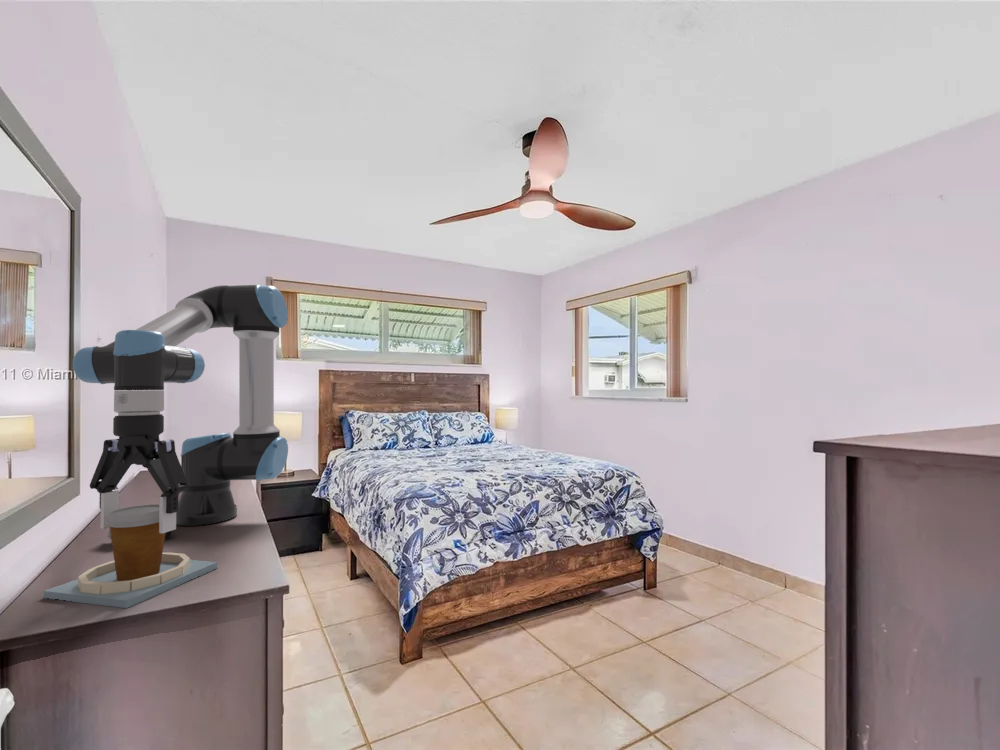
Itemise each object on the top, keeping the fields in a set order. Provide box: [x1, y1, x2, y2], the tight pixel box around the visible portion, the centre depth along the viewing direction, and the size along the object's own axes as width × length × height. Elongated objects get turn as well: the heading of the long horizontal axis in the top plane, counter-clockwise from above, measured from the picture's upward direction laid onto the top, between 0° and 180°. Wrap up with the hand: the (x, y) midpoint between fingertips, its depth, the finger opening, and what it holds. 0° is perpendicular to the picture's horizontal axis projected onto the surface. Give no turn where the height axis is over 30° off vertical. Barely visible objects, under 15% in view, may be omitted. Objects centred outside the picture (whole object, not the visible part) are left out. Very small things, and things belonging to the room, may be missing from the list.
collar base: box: [42, 551, 218, 609], centre depth 89 cm, size 18×18×3 cm
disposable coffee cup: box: [106, 503, 166, 581], centre depth 89 cm, size 10×10×12 cm
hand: (138, 529), depth 89 cm, fingers open, 13 cm apart
